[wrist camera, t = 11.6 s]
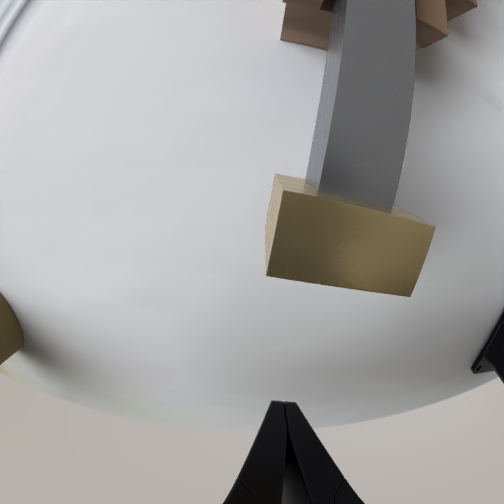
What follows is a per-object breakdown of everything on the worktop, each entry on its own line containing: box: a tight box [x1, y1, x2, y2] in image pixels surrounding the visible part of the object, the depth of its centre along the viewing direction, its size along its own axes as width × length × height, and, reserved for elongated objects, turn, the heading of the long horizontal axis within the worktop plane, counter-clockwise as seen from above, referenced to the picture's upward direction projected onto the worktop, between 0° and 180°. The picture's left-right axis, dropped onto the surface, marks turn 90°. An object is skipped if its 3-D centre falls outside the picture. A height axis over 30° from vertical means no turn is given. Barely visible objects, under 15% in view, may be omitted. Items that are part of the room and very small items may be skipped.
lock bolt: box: [265, 0, 435, 297], centre depth 5 cm, size 3×8×3 cm, turn 170°
